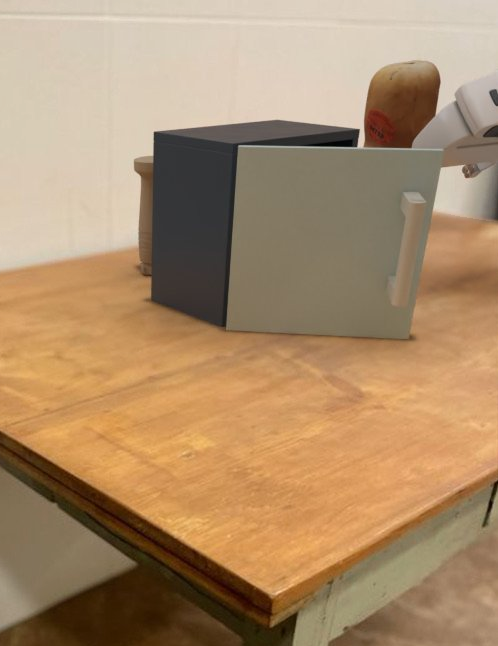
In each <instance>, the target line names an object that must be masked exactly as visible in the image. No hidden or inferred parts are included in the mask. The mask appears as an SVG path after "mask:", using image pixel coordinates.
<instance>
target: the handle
mask: <svg viewBox="0 0 498 646" xmlns="http://www.w3.org/2000/svg"><path fill="white" fill-rule="evenodd" d="M133 171H134V172H135V173H137V174H138V175H139V176H140V195H139V196H140V197H139V212H138V213H139V215H138V229H137V230H138V231H137V232H138V256H139V261H140V264H139V266H140V272H141V273H142V275H144V276H151V269H152V205H153V155H145V156H139V157H136V158H134V159H133Z"/></svg>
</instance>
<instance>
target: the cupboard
mask: <svg viewBox="0 0 498 646" xmlns="http://www.w3.org/2000/svg"><path fill="white" fill-rule="evenodd" d="M360 133H361V129H360V128H355V127H344V126H336V125H327V124H320V123H319V124H318V123H310V122H309V123H308V122H301V121H294V120H293V121H292V120H284V119H270V120H260V121H250V122H249V121H247V122H242V123H241V122H239V123H229V124H227V123H226V124H219V125H218V124H217V125H209V126H208V125H207V126H197V127H187V128H176V129H165V130H157V131H153V139H152V140H153V143H152V144H153V146H152V149H153V150H152V151H153V153H152V156H153V205H152V269H151V277H150V279H151V280H150V301H151V302H153V303H157V304H159V305H162V306H165V307H167V308H170V309H172V310H175V311H178V312H181V313H183V314H186V315H187V316H191V317H193V318H197V319H198V320H202V321H205V322H207V323H210V324H212V325H215V326H218V327H220V328H224V327H226V324H227V309H228V294H229V279H230V264H231V249H232V233H233V218H234V203H235V188H236V173H237V158H238V146H239V145H253V146H308V147H358V145H359V138H360Z"/></svg>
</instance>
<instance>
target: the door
mask: <svg viewBox="0 0 498 646" xmlns="http://www.w3.org/2000/svg"><path fill="white" fill-rule="evenodd" d="M443 154H444V150H443V149H419V148H363V147H361V146H360V147H308V146H253V145H239V146H238V158H237V173H236V188H235V203H234V218H233V233H232V249H231V264H230V279H229V294H228V309H227V324H226V326H225V330H226V331H235V332H252V333H253V332H256V333H272V334H273V333H274V334H275V333H276V334H294V335H315V336H333V337H334V336H336V337H354V338H374V339H375V338H376V339H394V340H409V339H410V333H411V328H412V322H413V318H414V317H413V316H414V312H415V307H416V303H417V302H416V301H417V296H418V291H419V286H420V280H421V276H422V270H423V265H424V259H425V254H426V250H427V244H428V238H429V233H430V227H431V223H432V217H433V213H434V212H433V211H434V207H435V201H436V196H437V190H438V186H439V181H440V175H441V171H442V170H441V169H442V168H441V165H442V159H443Z"/></svg>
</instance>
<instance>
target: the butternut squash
mask: <svg viewBox="0 0 498 646" xmlns="http://www.w3.org/2000/svg"><path fill="white" fill-rule="evenodd" d="M440 74H441V73H440V70H439V69H438V67H437V66H436V65H435V64H434V63H433V62H431V61H429V60H421V59H416V60H415V59H414V60H409V61H401V62H400V61H399V62H395V63H390V64H387V65H384V66H383V67H381V68H379V70H377V71H376V72H375V73H374V75H373V76H372V77H371V79H370V82H369V84H368V85H369V86H368V89H367V90H368V91H367V95H366V96H367V97H366V101H365V108H364V114H363V115H364V116H363V132H364V142H363V148H412V144H413V141H414V140H415V138H416V137H417V136H418V135H419V133H420V132H421V131H422V130H423V129H424V128H425V127H426V125H427V124H428V123H429V122H430V121H431V120H432V119H433V118H434V117H435V116H436V115H437V107H438V102H439V95H440V90H441V89H440V88H441V75H440Z"/></svg>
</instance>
